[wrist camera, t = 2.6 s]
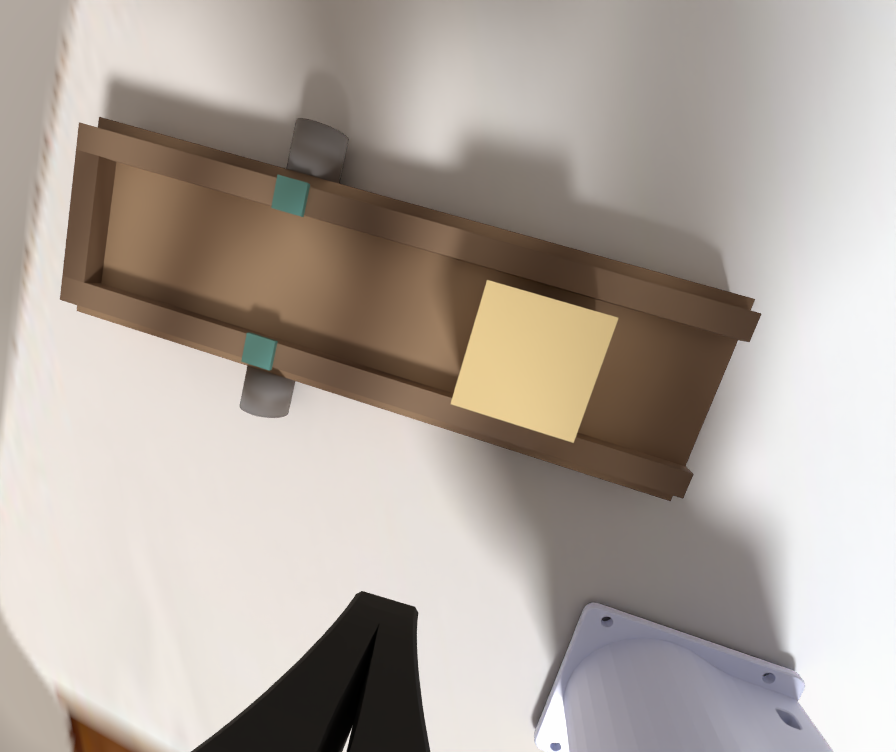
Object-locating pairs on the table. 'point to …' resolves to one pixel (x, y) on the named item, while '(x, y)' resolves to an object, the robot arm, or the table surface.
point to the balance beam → (378, 295)
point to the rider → (532, 360)
